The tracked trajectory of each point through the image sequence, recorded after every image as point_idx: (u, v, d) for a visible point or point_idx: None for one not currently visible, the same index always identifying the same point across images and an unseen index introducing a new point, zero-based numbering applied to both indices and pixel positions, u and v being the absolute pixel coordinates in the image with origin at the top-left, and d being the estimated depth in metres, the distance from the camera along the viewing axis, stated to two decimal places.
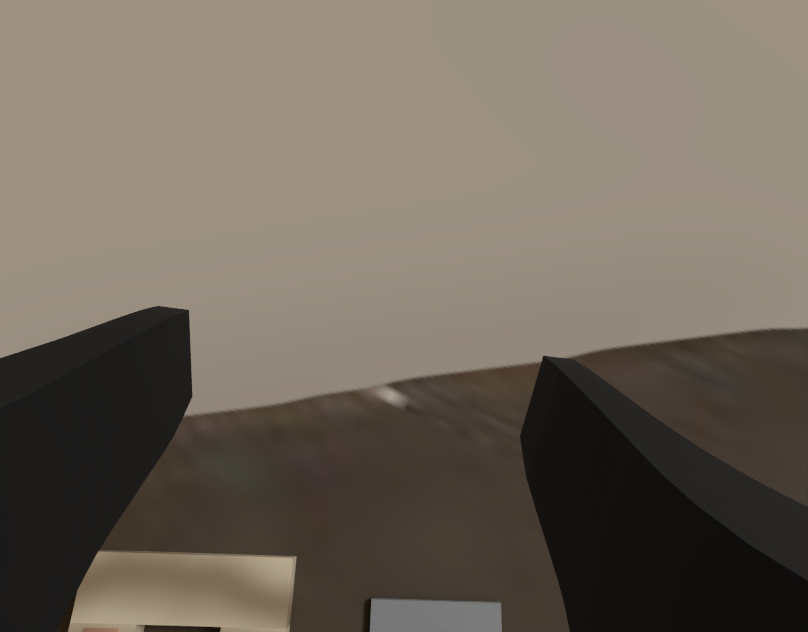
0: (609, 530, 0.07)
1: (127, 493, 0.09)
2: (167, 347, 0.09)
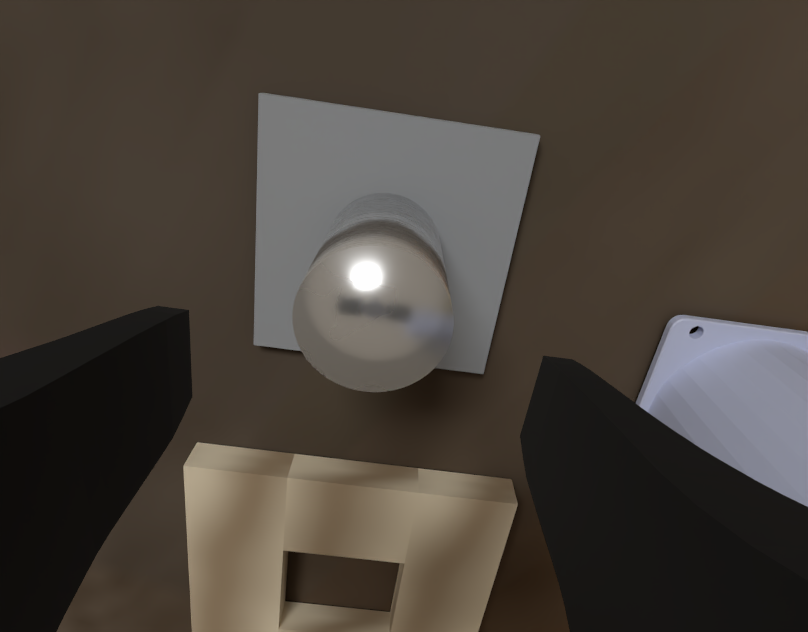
0: (609, 530, 0.07)
1: (127, 493, 0.09)
2: (167, 347, 0.09)
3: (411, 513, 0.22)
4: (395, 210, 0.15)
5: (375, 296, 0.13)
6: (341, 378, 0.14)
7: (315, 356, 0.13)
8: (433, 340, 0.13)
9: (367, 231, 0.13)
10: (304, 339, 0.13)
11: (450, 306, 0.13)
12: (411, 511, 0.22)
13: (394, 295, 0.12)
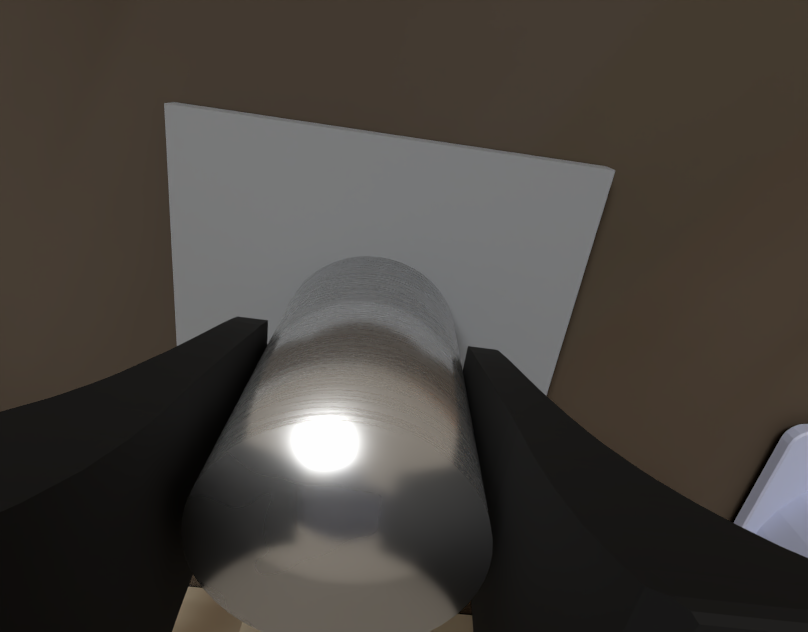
0: (501, 518, 0.07)
1: None
2: (253, 358, 0.09)
3: None
4: (384, 299, 0.09)
5: (341, 508, 0.06)
6: (283, 630, 0.07)
7: (232, 599, 0.07)
8: (453, 576, 0.07)
9: (328, 365, 0.07)
10: (208, 573, 0.07)
11: (487, 524, 0.06)
12: None
13: (378, 507, 0.06)
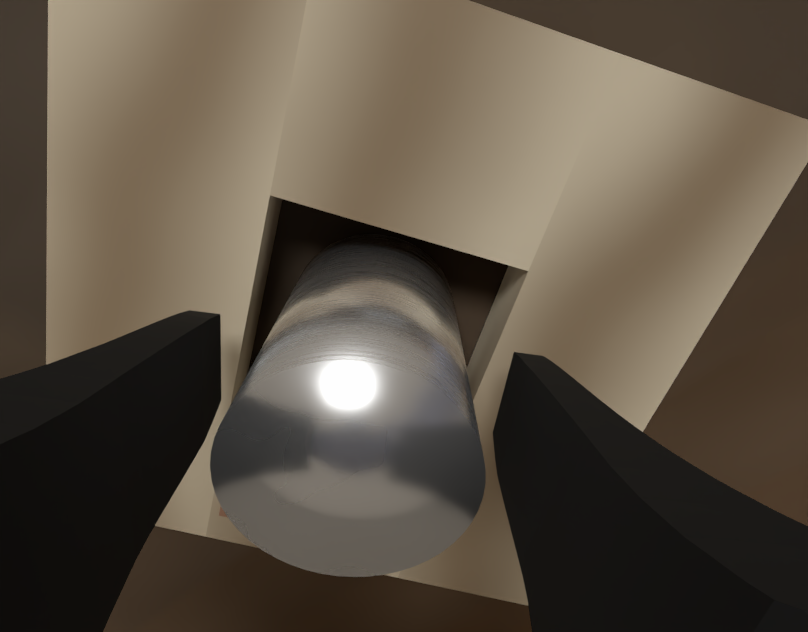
0: (567, 525, 0.07)
1: (164, 497, 0.09)
2: (201, 351, 0.09)
3: (585, 119, 0.10)
4: (388, 268, 0.10)
5: (351, 441, 0.07)
6: (298, 558, 0.08)
7: (253, 528, 0.08)
8: (451, 505, 0.08)
9: (339, 319, 0.08)
10: (232, 503, 0.08)
11: (480, 456, 0.07)
12: (587, 112, 0.10)
13: (384, 440, 0.07)
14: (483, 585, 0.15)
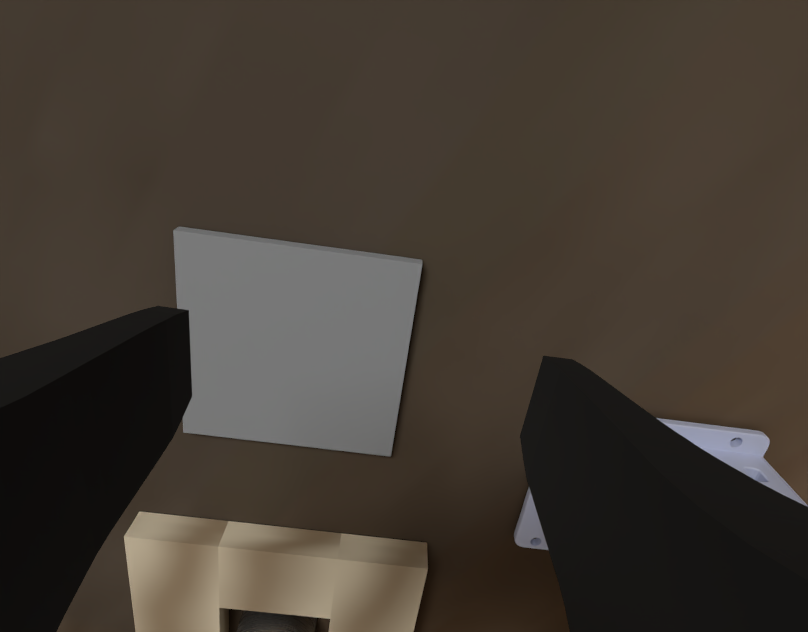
0: (609, 530, 0.07)
1: (127, 493, 0.09)
2: (167, 347, 0.09)
3: (332, 576, 0.25)
4: None
5: None
6: None
7: None
8: None
9: None
10: None
11: None
12: (332, 574, 0.24)
13: None
14: None
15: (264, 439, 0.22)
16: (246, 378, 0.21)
